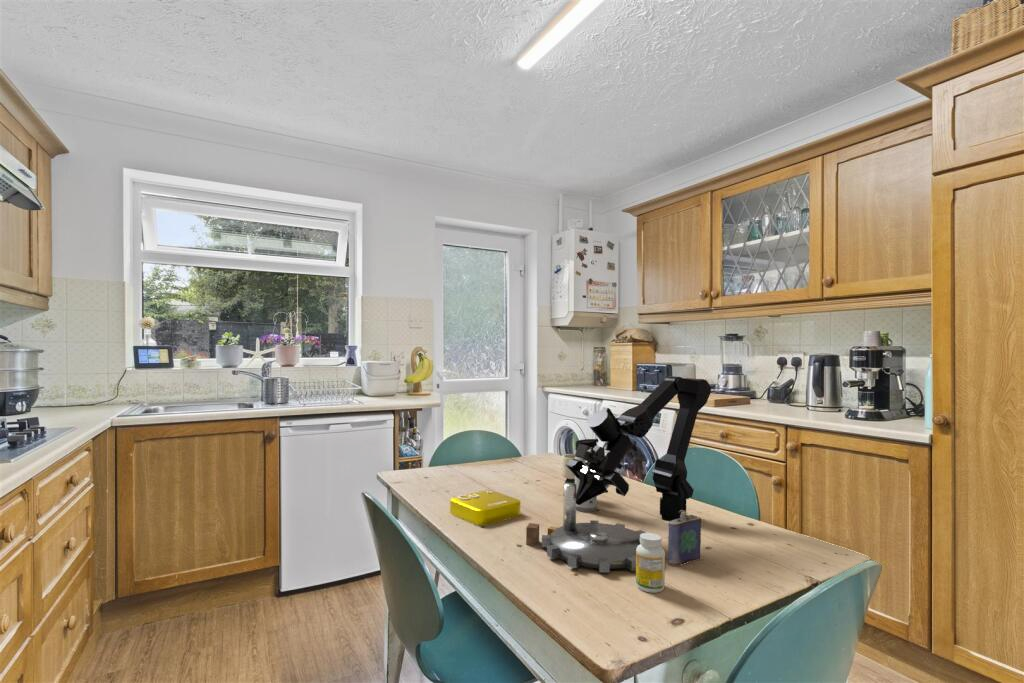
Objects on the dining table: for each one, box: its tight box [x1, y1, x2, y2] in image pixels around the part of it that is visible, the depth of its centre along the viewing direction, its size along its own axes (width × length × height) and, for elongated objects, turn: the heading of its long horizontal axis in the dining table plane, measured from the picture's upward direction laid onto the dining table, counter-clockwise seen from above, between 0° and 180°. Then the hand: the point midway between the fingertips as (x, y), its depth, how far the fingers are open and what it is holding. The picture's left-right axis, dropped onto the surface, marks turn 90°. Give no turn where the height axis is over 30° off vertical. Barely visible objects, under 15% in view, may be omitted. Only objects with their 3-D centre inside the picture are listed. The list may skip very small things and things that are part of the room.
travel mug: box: [574, 438, 600, 513], centre depth 145 cm, size 6×7×20 cm
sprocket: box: [541, 482, 647, 573], centre depth 114 cm, size 25×25×12 cm
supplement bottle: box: [635, 532, 666, 594], centre depth 97 cm, size 5×5×10 cm
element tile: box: [449, 489, 521, 526], centre depth 140 cm, size 15×15×5 cm
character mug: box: [561, 453, 575, 497], centre depth 155 cm, size 11×7×13 cm, turn 30°
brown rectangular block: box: [525, 522, 540, 547], centre depth 119 cm, size 2×3×4 cm
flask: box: [667, 510, 702, 567], centre depth 110 cm, size 9×3×11 cm, turn 121°
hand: (576, 503), depth 122 cm, fingers closed, pressing on sprocket
